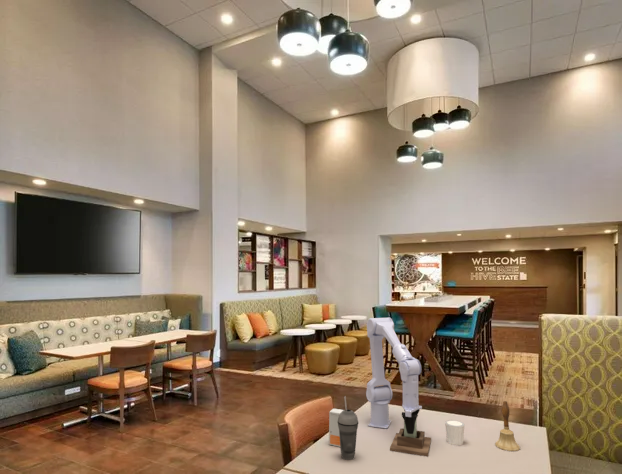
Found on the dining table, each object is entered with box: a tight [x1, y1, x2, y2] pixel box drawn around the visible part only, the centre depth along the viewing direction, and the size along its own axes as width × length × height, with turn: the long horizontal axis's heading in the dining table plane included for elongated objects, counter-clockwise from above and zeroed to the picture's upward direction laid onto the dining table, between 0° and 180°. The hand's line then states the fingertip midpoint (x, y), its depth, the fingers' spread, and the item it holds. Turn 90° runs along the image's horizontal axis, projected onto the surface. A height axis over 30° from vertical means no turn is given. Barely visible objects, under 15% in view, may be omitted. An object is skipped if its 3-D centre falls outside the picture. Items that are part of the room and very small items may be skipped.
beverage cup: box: [337, 395, 359, 461], centre depth 144 cm, size 7×7×20 cm
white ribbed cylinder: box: [444, 419, 465, 446], centre depth 156 cm, size 7×7×7 cm
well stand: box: [389, 428, 432, 457], centre depth 153 cm, size 15×13×4 cm
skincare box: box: [328, 408, 345, 448], centre depth 154 cm, size 6×4×12 cm
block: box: [403, 420, 418, 438], centre depth 154 cm, size 4×4×6 cm
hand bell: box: [494, 400, 521, 452], centre depth 153 cm, size 8×8×16 cm
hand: (411, 431), depth 153 cm, fingers closed on block, 4 cm apart
